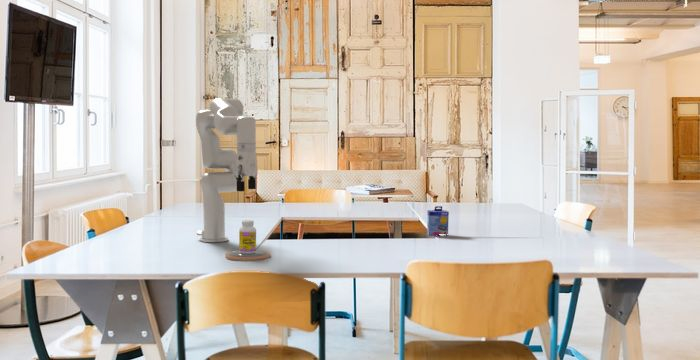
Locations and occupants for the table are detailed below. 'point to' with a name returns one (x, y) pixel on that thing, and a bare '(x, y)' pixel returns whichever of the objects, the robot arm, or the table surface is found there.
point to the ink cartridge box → (437, 221)
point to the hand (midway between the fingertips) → (246, 190)
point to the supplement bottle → (247, 237)
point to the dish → (247, 255)
